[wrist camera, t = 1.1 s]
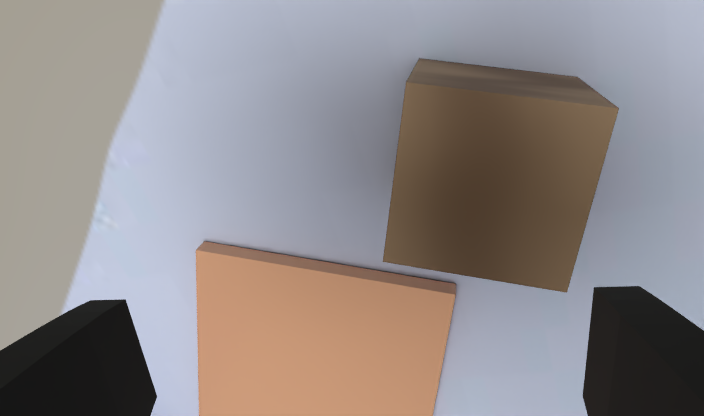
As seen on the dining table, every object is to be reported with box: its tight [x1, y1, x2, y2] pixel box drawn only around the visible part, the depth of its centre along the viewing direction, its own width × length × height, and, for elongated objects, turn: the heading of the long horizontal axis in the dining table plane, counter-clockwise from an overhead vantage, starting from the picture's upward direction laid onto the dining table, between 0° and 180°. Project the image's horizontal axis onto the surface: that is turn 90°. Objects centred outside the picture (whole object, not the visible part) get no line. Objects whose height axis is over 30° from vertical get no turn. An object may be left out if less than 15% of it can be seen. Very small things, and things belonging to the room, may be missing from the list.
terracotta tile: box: [196, 241, 456, 416], centre depth 23 cm, size 10×10×1 cm
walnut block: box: [383, 58, 619, 292], centre depth 16 cm, size 5×5×5 cm
